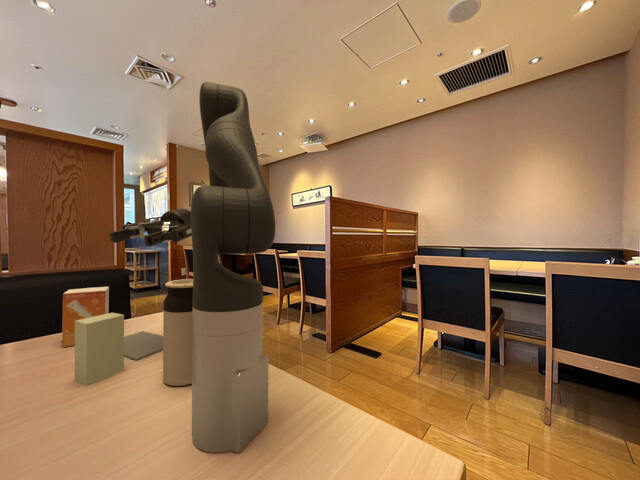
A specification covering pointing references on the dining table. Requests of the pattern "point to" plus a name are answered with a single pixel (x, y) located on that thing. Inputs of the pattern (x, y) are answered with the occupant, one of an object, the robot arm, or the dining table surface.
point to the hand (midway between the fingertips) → (128, 239)
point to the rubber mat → (142, 345)
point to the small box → (82, 309)
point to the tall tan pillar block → (99, 347)
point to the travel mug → (178, 333)
